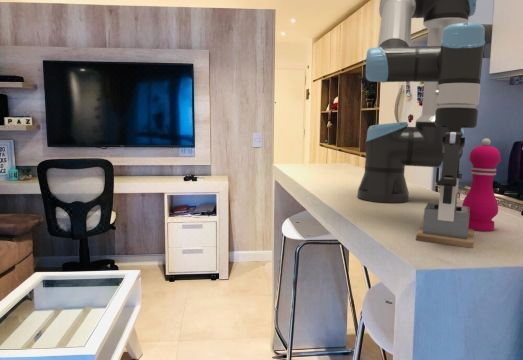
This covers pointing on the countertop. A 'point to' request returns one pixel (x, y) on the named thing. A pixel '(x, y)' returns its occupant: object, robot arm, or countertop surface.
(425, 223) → the grey square ring block
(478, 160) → the pepper mill
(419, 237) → the peg on square base
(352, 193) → the countertop surface
